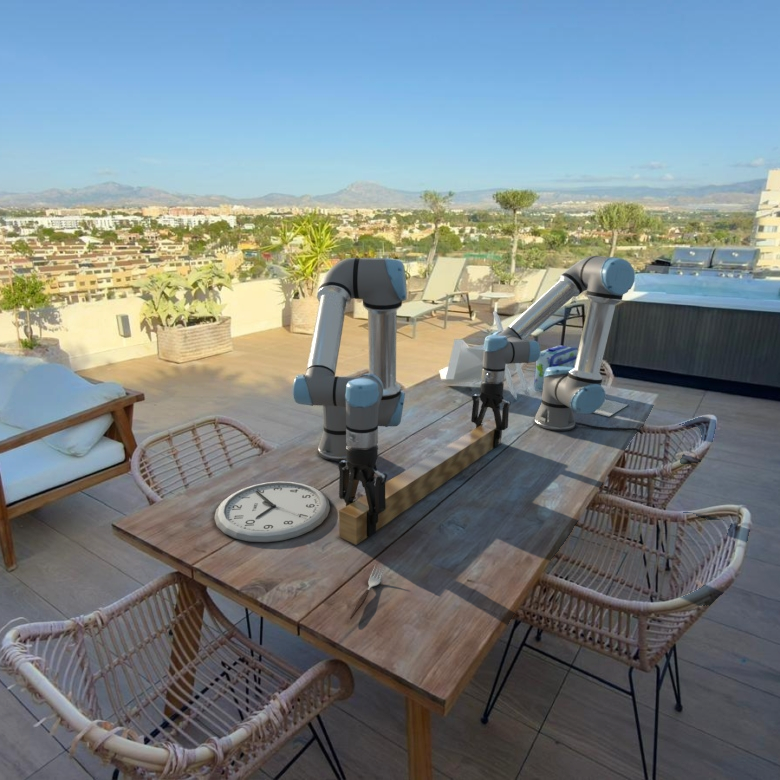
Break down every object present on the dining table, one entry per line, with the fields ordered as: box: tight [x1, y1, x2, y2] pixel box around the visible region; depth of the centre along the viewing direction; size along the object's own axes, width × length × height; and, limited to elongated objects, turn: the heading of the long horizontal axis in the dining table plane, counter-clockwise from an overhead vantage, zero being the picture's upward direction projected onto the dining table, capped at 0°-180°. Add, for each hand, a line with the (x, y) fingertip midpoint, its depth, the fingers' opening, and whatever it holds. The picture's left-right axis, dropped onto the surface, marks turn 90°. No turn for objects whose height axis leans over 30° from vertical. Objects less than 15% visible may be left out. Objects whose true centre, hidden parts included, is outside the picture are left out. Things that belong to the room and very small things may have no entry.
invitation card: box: [592, 398, 629, 418], centre depth 226 cm, size 21×1×15 cm
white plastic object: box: [438, 310, 531, 400], centre depth 245 cm, size 37×45×31 cm
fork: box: [349, 563, 386, 620], centre depth 108 cm, size 3×16×2 cm, turn 160°
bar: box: [338, 419, 503, 546], centre depth 156 cm, size 80×5×7 cm, turn 143°
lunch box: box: [533, 345, 579, 393], centre depth 245 cm, size 26×11×21 cm, turn 135°
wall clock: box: [213, 481, 331, 543], centre depth 139 cm, size 30×2×30 cm
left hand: (361, 529), depth 131 cm, fingers closed on bar, 5 cm apart
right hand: (487, 444), depth 184 cm, fingers closed on bar, 5 cm apart
